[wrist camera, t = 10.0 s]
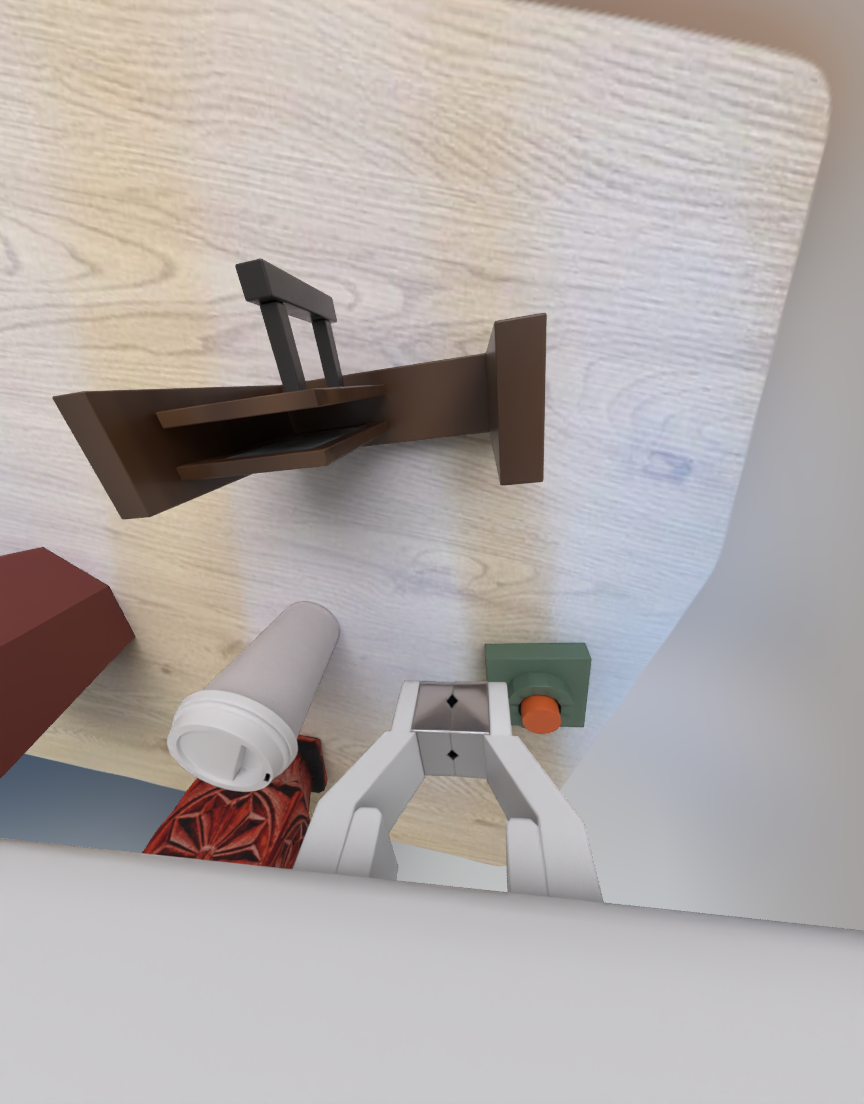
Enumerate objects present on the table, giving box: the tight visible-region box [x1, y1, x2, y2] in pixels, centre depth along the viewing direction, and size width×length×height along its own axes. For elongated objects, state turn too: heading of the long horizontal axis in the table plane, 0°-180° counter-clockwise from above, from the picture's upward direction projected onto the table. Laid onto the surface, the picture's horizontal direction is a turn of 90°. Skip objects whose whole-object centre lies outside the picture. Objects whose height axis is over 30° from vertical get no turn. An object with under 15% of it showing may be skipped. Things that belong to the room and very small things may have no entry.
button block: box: [485, 643, 591, 728], centre depth 35 cm, size 10×10×4 cm
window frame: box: [52, 313, 547, 519], centre depth 19 cm, size 18×5×16 cm, turn 97°
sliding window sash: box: [156, 259, 386, 429], centre depth 18 cm, size 8×5×11 cm
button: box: [521, 695, 561, 734], centre depth 33 cm, size 4×4×2 cm
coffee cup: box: [167, 602, 340, 792], centre depth 31 cm, size 10×10×15 cm
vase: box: [142, 736, 327, 869], centre depth 37 cm, size 14×14×30 cm
